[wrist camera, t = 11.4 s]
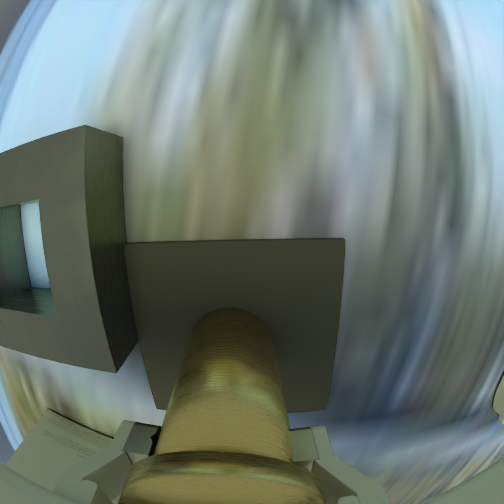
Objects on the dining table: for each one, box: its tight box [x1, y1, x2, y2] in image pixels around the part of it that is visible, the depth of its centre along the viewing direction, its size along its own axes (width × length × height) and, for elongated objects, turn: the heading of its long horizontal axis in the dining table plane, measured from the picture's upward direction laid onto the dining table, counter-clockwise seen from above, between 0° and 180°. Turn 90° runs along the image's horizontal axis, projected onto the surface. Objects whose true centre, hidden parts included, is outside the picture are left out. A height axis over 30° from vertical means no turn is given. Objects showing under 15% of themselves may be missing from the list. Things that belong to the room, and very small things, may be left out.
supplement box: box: [6, 409, 121, 504], centre depth 12 cm, size 9×9×15 cm
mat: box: [124, 238, 345, 413], centre depth 16 cm, size 12×12×1 cm
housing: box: [0, 125, 139, 373], centre depth 13 cm, size 12×12×4 cm
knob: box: [118, 308, 327, 504], centre depth 10 cm, size 6×6×11 cm
